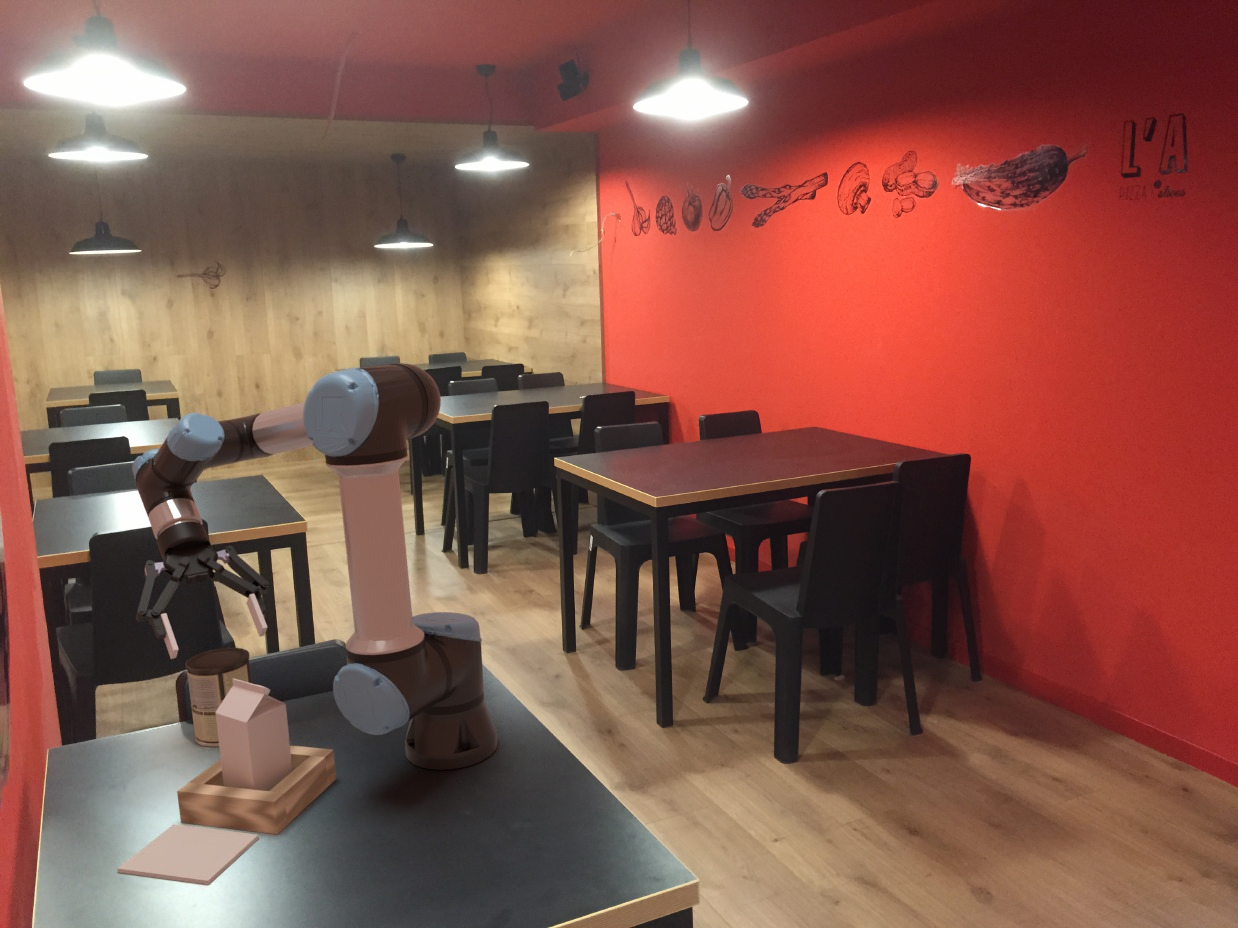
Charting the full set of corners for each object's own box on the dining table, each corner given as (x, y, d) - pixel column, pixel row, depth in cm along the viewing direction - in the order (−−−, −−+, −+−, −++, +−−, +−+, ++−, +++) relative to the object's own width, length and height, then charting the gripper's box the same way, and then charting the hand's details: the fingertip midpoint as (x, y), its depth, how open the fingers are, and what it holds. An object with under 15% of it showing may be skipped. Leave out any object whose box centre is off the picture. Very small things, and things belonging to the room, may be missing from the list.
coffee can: (212, 720, 176) (204, 646, 173) (267, 721, 174) (259, 647, 172) (182, 746, 165) (172, 668, 163) (239, 747, 164) (231, 669, 162)
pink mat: (258, 838, 136) (258, 834, 136) (208, 884, 126) (207, 880, 126) (173, 827, 140) (173, 824, 140) (117, 872, 129) (117, 868, 129)
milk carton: (256, 817, 142) (243, 696, 139) (225, 805, 146) (212, 686, 142) (295, 795, 148) (283, 678, 144) (264, 784, 152) (252, 670, 148)
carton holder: (336, 778, 153) (333, 749, 152) (277, 834, 137) (274, 801, 136) (247, 769, 157) (244, 740, 156) (180, 822, 141) (177, 790, 140)
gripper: (251, 531, 170) (292, 634, 162) (94, 560, 154) (131, 675, 146) (259, 507, 165) (302, 611, 157) (99, 533, 149) (137, 651, 141)
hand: (220, 642), depth 151 cm, fingers open, 13 cm apart
